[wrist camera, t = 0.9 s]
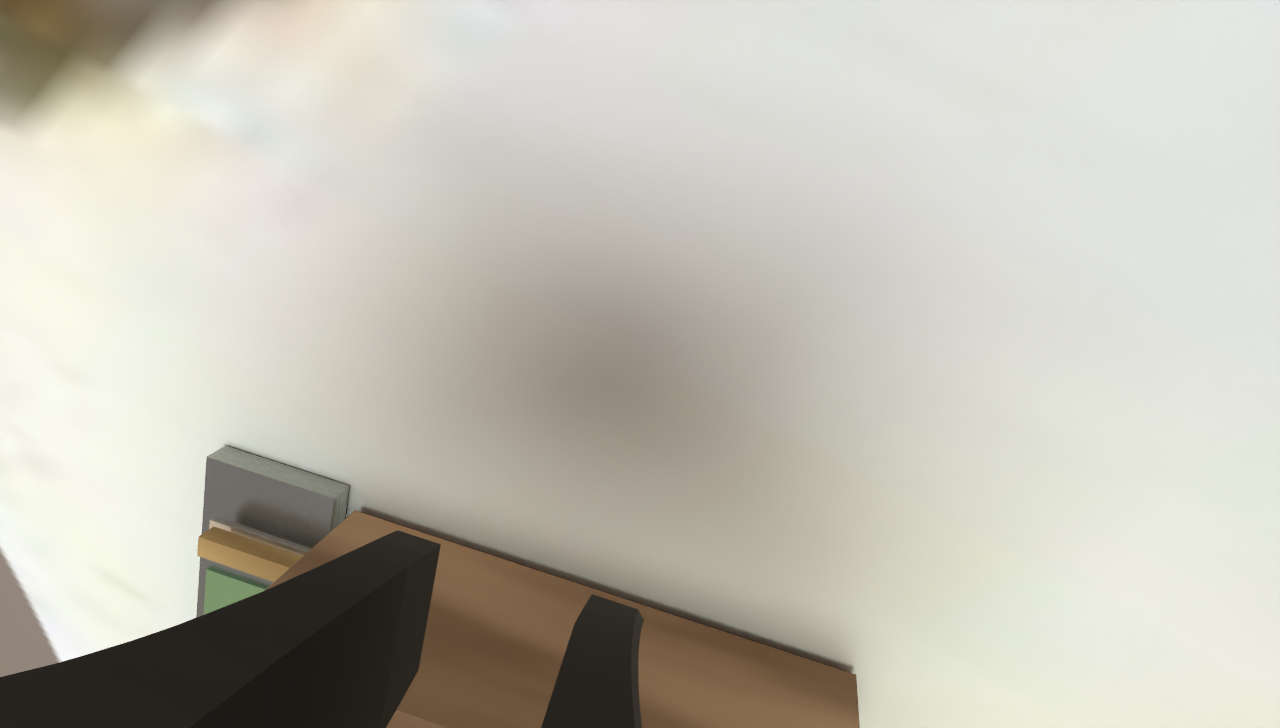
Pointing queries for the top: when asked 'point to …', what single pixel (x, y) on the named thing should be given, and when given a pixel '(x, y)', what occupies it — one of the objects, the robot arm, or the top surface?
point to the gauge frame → (262, 516)
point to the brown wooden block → (560, 646)
